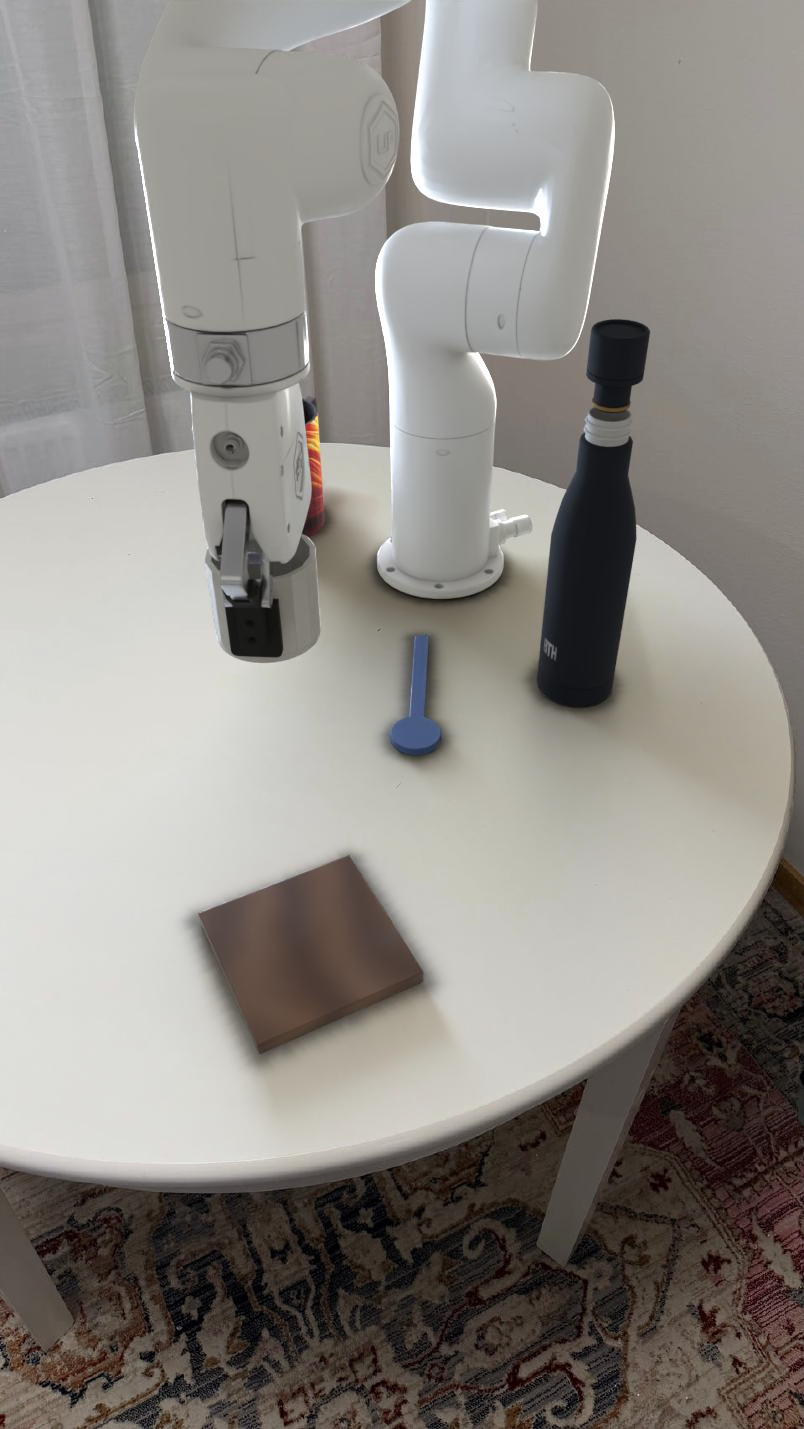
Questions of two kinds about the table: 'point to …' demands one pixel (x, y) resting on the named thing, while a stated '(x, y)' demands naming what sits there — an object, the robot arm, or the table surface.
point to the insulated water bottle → (594, 530)
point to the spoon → (417, 710)
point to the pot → (295, 596)
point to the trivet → (308, 952)
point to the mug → (313, 468)
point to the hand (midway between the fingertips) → (267, 617)
